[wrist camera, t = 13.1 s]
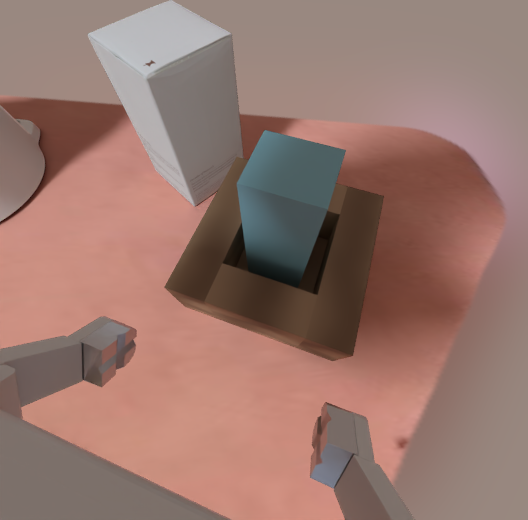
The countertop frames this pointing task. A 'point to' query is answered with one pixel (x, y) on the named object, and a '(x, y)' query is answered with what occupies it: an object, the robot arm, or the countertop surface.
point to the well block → (276, 293)
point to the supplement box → (177, 93)
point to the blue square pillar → (285, 203)
